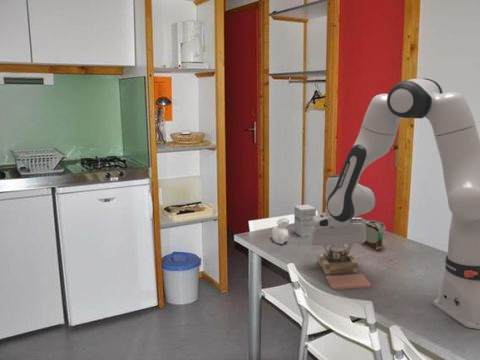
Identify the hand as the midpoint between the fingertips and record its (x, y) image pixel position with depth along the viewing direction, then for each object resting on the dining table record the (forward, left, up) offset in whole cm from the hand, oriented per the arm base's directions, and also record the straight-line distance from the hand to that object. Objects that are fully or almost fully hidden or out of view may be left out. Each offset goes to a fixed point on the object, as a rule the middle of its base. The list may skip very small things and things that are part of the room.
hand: (337, 254), depth 171 cm
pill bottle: (0, 0, -5) cm, 5 cm away
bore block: (0, 0, -5) cm, 5 cm away
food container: (+19, -21, -5) cm, 29 cm away
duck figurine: (+31, +16, -5) cm, 35 cm away
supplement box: (+39, +4, -5) cm, 39 cm away
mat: (-14, 0, -5) cm, 15 cm away
